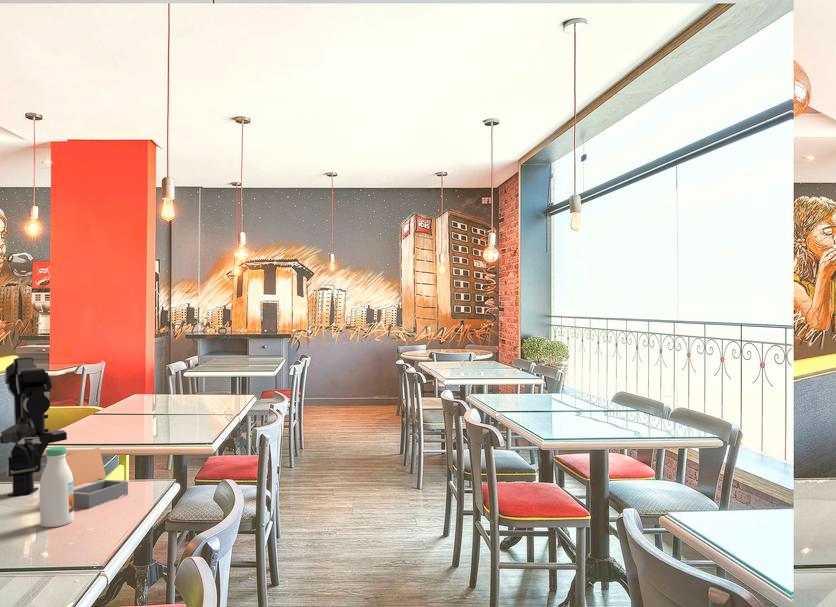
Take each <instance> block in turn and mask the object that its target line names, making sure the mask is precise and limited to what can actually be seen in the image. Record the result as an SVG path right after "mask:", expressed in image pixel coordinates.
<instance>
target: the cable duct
mask: <svg viewBox="0 0 836 607" xmlns="http://www.w3.org/2000/svg"><path fill="white" fill-rule="evenodd" d="M73 492H74V508H83V509H92V508H95V507H97V506H96V505H98V506H100V505H102V504H101V503H103V504H105V503H104V502H106V503H108V502H107V501H109V500H112V499H114V498H117V497H120V496H122V495H125V494H128V495H129V481H125V480H115V479H113V480H111V479H104V480H101V481H98V482H94V483H91V484H88V485H86V486H82V487H79V488H75V489H73ZM120 498H121V497H120ZM117 499H118V498H117ZM114 500H115V499H114ZM112 501H113V500H112ZM109 502H110V501H109ZM99 504H100V505H99ZM94 506H95V507H94Z"/></svg>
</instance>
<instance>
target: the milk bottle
mask: <svg viewBox="0 0 836 607" xmlns="http://www.w3.org/2000/svg"><path fill="white" fill-rule="evenodd" d="M45 454H46V457H45V458H46V459H47V460H46V464H45V467H44V470H43V471H42V474H41V476H40V482H39V509H40V510H39V512H40V513H39V516H40V517H39V518H40V521H39V522H40V526H41V527H42V528H55V527H61V526H64V525H68V524H70V523H72V522H73V521H74V519H75V507H74V492H73V490H74V487H73V476H72V472H71V470H70V468H69V467H68V465H67V462H66V459H65V456H67V448H66V447H65V446H54V447H50V448H46V449H45Z"/></svg>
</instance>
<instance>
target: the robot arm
mask: <svg viewBox="0 0 836 607" xmlns="http://www.w3.org/2000/svg"><path fill="white" fill-rule="evenodd" d="M4 384H5V385H7V391H8V392H9V393H10V395H11V396H12V397H13V418H14V423H13V425H11V426H10V427H8V428H6V429H4V430H3V431H0V432H1V433H0V434H1V435H0V444H10V443H13V445H12V446H11V449H10V450H9V457H7V459H6V467H5V468H6V470H5V471H6V476H7V477H8V478H9V477H10V478H11V477H12V480H11V481H12V491H11V492H9V493H8V494H7V496H8V497H11V496H12V497H13V496H22V495H23V496H25V495H31V494H33V493H34V492H36V491H38V490H39V487H38V486H37V487H35V484H34V483H35V482H34V481H35V478H34V475H35V473H40V472H41V471H42V466H41V465H42V460H43V458H42V457H43V455H44V453H45V452H46V450H47V449H48V447H49V444H54V443H57V442H63V441H66V440H67V439H68V432H66V431H65V430H63V429H59V430H58V429H57V430H56V429H54V430H50V431H49V428H46V421H45V420H46V419H48V418H49V414H46V413H47V411H49V409H50V406H51V401H50V399H49V398H48V397H47V396H46V395H45V393H49V392H51V390H52V388H53V384H52V380H51V376H50V375H49V372H48V371H46V370H45V369H44V368H43V367H37V365H36V363H34V359H33V357H30V356H26V357H16V358H14V359H13V362H12V363H11V364H9V365H8V366H7V367H5V372H4Z"/></svg>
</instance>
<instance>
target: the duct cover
mask: <svg viewBox="0 0 836 607" xmlns="http://www.w3.org/2000/svg"><path fill="white" fill-rule="evenodd" d="M100 448H101V447H99V446H98V447H95V448H92V449H87V450H84V451H80V452H76V453H72V454H66V456H65V459H66V462H67V465H68V467H69V468H70V470H71V472H72V476H73V488H75V487H78V486H81V485H85V484H88V483H90V482H94V481H98V480H101V479H105V478H106V477H107V476H106V471H105V466H104V462H103V458H102V452H101V449H100Z"/></svg>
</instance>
